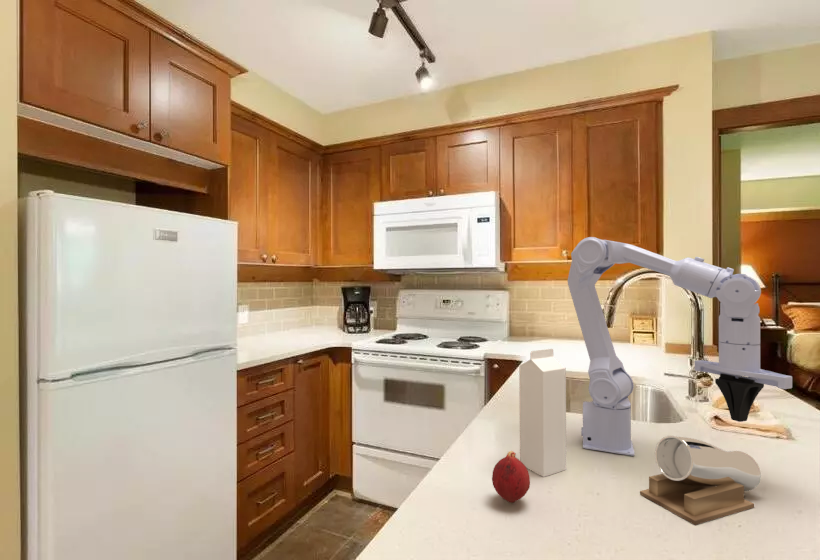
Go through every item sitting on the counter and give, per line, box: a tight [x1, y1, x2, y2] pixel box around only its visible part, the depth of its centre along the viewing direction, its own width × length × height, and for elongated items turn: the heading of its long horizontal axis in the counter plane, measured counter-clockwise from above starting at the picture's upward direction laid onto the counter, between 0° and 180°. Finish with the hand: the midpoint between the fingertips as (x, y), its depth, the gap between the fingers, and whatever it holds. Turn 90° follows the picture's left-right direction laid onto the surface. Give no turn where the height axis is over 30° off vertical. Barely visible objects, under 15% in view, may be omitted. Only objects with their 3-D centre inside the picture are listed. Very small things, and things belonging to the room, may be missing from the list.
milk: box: [518, 348, 567, 478], centre depth 77 cm, size 6×6×22 cm
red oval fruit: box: [491, 450, 531, 504], centre depth 65 cm, size 6×6×8 cm
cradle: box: [639, 473, 755, 526], centre depth 65 cm, size 9×13×3 cm
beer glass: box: [654, 435, 762, 492], centre depth 66 cm, size 7×7×15 cm
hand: (739, 420), depth 73 cm, fingers closed
